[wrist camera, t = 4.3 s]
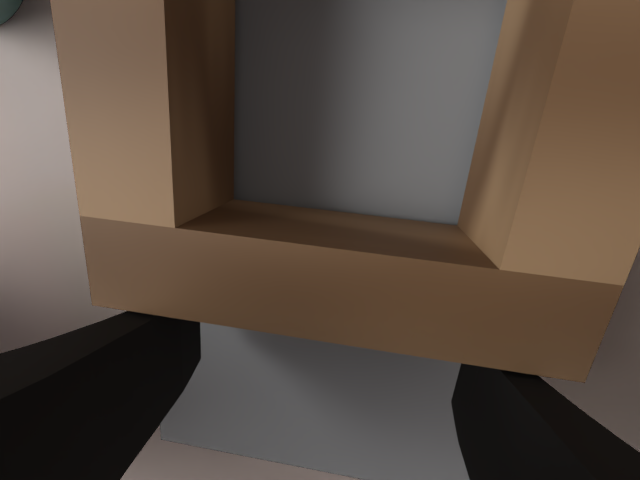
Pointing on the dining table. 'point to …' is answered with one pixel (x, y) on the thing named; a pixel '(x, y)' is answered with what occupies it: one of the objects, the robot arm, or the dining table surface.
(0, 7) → the dowel
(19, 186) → the dining table surface
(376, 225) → the socket block
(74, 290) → the dining table surface
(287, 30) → the board
